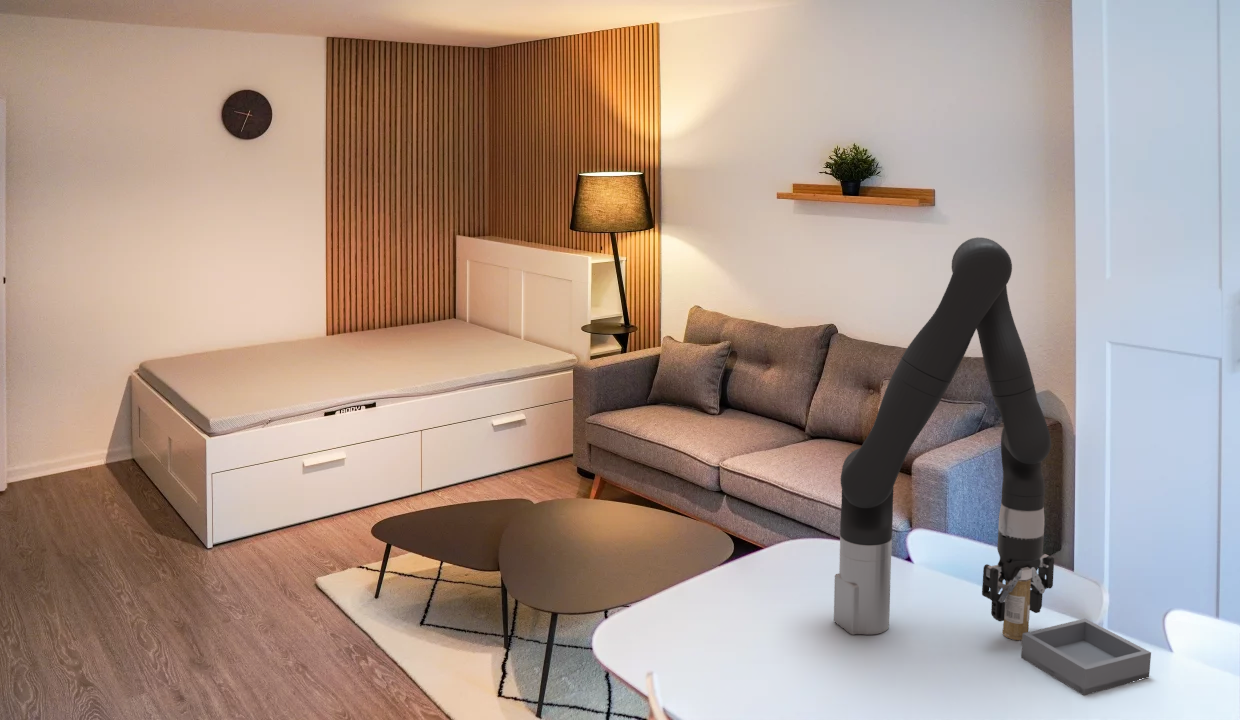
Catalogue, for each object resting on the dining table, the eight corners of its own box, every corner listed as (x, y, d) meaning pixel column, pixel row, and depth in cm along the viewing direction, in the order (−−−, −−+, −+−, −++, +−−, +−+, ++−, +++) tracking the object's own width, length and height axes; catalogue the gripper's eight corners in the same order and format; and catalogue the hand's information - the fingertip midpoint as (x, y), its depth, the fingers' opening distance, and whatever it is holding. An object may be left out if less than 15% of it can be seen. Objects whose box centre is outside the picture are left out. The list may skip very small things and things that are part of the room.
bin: (1083, 695, 169) (1085, 669, 168) (1021, 657, 182) (1022, 633, 181) (1149, 677, 174) (1151, 652, 173) (1083, 642, 187) (1085, 618, 186)
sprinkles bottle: (1033, 636, 189) (1038, 566, 186) (1018, 643, 187) (1022, 572, 184) (1012, 627, 193) (1015, 558, 190) (996, 634, 190) (999, 564, 188)
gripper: (1037, 516, 192) (1032, 600, 195) (973, 528, 187) (969, 614, 190) (1068, 529, 185) (1062, 616, 188) (1003, 542, 180) (999, 631, 183)
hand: (1016, 615), depth 189 cm, fingers open, 7 cm apart
